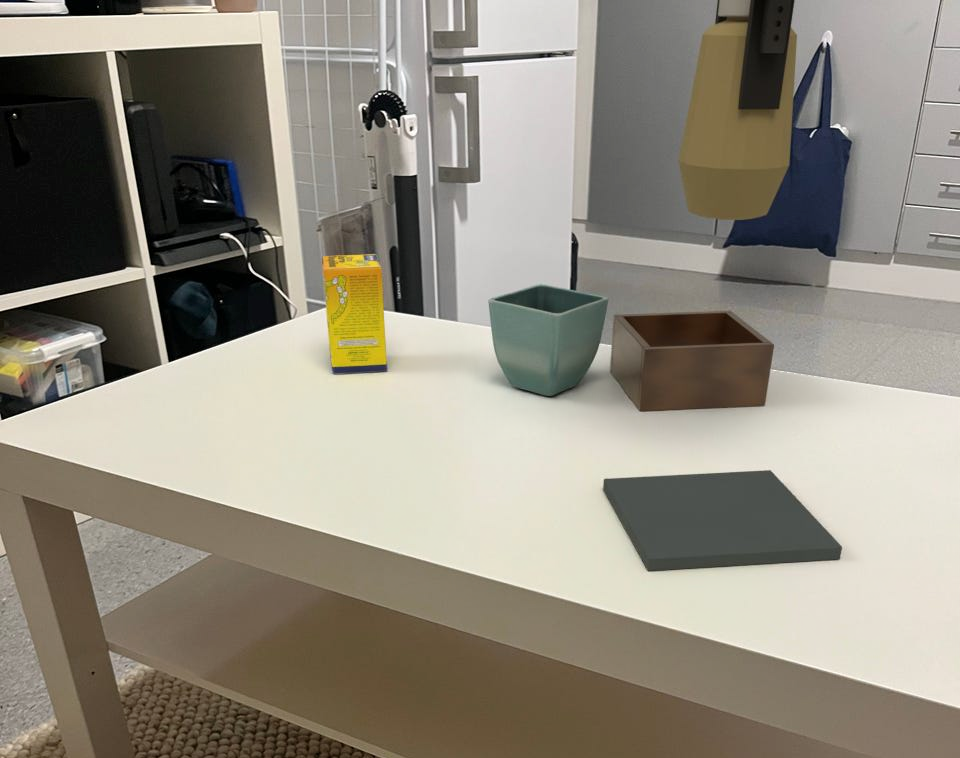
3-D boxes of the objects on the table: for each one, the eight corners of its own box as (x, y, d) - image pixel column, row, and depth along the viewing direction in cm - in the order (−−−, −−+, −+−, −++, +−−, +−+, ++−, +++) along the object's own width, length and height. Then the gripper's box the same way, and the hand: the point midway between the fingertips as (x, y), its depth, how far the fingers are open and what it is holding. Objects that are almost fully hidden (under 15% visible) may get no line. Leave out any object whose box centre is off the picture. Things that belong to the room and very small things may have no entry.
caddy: (723, 366, 110) (730, 310, 106) (765, 405, 99) (774, 344, 96) (609, 371, 108) (613, 314, 105) (639, 411, 98) (645, 349, 95)
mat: (768, 481, 84) (770, 469, 83) (840, 559, 72) (842, 546, 71) (602, 489, 82) (603, 478, 82) (647, 571, 70) (649, 558, 70)
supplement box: (329, 358, 112) (320, 255, 107) (383, 355, 113) (377, 253, 107) (331, 375, 108) (322, 267, 102) (387, 372, 108) (382, 265, 102)
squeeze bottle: (659, 218, 75) (686, -79, 65) (689, 202, 81) (719, -72, 72) (769, 228, 72) (814, -82, 62) (792, 210, 78) (836, -75, 69)
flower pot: (605, 385, 104) (611, 295, 100) (555, 407, 99) (559, 314, 94) (537, 368, 109) (539, 282, 104) (485, 389, 103) (485, 299, 99)
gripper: (688, -295, 68) (656, 94, 80) (794, -388, 52) (733, 117, 64) (796, -291, 69) (747, 93, 81) (934, -382, 52) (847, 116, 65)
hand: (741, 103), depth 73 cm, fingers closed on squeeze bottle, 6 cm apart
